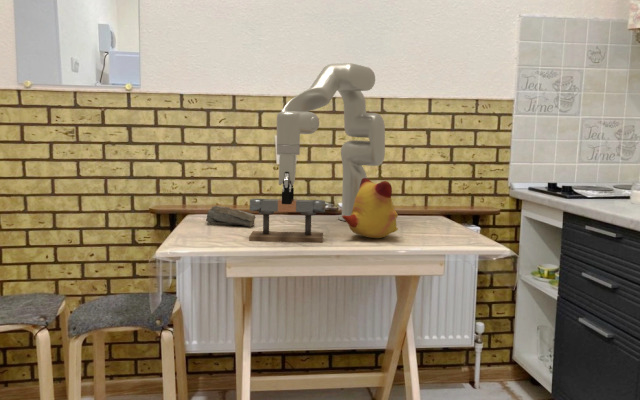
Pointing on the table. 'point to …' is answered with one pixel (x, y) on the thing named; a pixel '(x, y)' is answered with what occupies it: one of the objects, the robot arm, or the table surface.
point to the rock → (229, 216)
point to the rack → (286, 236)
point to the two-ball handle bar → (287, 205)
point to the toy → (373, 210)
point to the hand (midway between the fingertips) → (287, 201)
